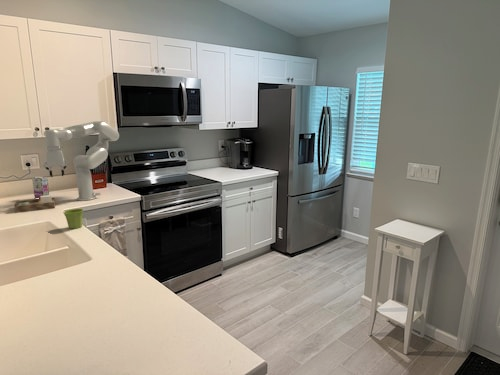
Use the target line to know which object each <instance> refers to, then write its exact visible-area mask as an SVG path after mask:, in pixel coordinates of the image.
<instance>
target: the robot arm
mask: <svg viewBox="0 0 500 375" xmlns="http://www.w3.org/2000/svg"><path fill="white" fill-rule="evenodd" d="M94 134H95V135H96V134H98V141H97V143H96V144H95V145H93V146H92V147H90V148H88V150H87V151H86V153H85V155H83V154H79V155H76V156H75V157H74V158H73V166H74V170H75V175H76V184H77V192H78V197H76V200H77V201H91V200H95V199H96V198H97V197H96V196H101V192H94V188H93V179H92V171H91V170H93V169H96V168H97V167H99V166H100V165H101V164H102V163H104V162H105V161H106V160H107V159H108V156H109V153H108V150H109V142H117V141H118V140H119V138H120V133H119V131H118V130H117V129H115V127H112V126H111V125H110V124H108V123H107V122H105V121H90V122H86V123H81V124H75V125H71V126H67V127H62V128H56V129H47V130H45V133H44V135H45V142H46V150H47V151H46V153H45V158H46V161H44V164H43V165H42V168H44V169H46V170H47V171H48V172H49V176H50V177H51V178H53V171H52V167H60V168H61V176H62V177H64V176H65V169H66V168H67V167H68V166H69V165H70V164H69V163H68V162H67V161H66V160H65V157H64V152H63V151H62V150H63V148H64V147H63V146H61V142H60V141H62V142H63V141H64V142H65V141H66V142H67V141H69V140H71V139H72V138H82V137H83V138H84V137H88V136H90V135H94Z"/></svg>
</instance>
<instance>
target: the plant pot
mask: <svg viewBox="0 0 500 375" xmlns="http://www.w3.org/2000/svg"><path fill="white" fill-rule="evenodd" d="M62 213H63V215H64V216H65V220H66V222H67V227H68V228H69V229H71V230H72V229H74V230H75V229H79V228H81V227H83V214H84V208H72V209H67V210H65V211H64V210H63V212H62Z"/></svg>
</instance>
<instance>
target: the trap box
mask: <svg viewBox="0 0 500 375" xmlns="http://www.w3.org/2000/svg"><path fill="white" fill-rule="evenodd" d="M51 199H52V202H48V203H41V199H35V198H34V199H26V200H20V199H17V200H15V203H14V211H15V214H17V213H26V212H35V211H43V210H50V209H52V210H53V209H56V201H55V197H51Z"/></svg>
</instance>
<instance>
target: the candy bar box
mask: <svg viewBox="0 0 500 375" xmlns="http://www.w3.org/2000/svg"><path fill="white" fill-rule="evenodd" d="M31 180H32V187H33V195H34V199H35V198H39V199H40V196H46V195H50V191H49V190H50V189H49V182H48V177H47V176H33V177H31Z"/></svg>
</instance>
